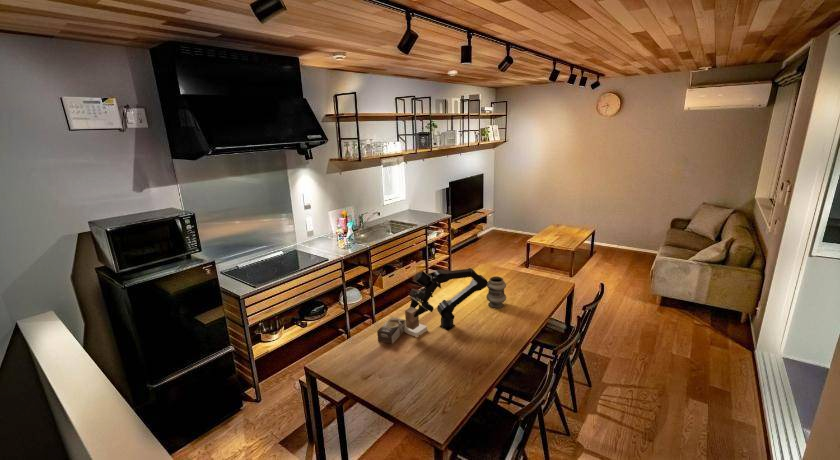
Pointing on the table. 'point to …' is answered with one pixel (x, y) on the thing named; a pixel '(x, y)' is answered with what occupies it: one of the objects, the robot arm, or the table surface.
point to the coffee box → (391, 330)
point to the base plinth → (416, 330)
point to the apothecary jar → (496, 292)
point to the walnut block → (411, 318)
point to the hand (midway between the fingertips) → (411, 314)
